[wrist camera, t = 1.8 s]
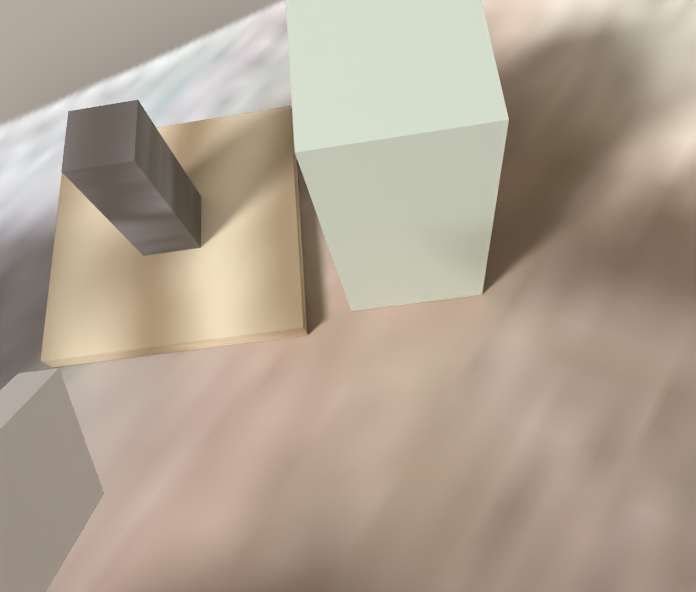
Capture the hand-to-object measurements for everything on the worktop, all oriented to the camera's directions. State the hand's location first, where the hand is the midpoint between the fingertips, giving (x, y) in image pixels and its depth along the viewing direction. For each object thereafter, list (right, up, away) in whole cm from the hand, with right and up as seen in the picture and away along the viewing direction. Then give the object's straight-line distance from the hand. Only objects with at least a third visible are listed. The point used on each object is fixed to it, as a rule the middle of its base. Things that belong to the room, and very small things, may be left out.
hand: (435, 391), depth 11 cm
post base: (-10, +5, +20) cm, 23 cm away
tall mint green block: (+1, +4, +18) cm, 19 cm away
